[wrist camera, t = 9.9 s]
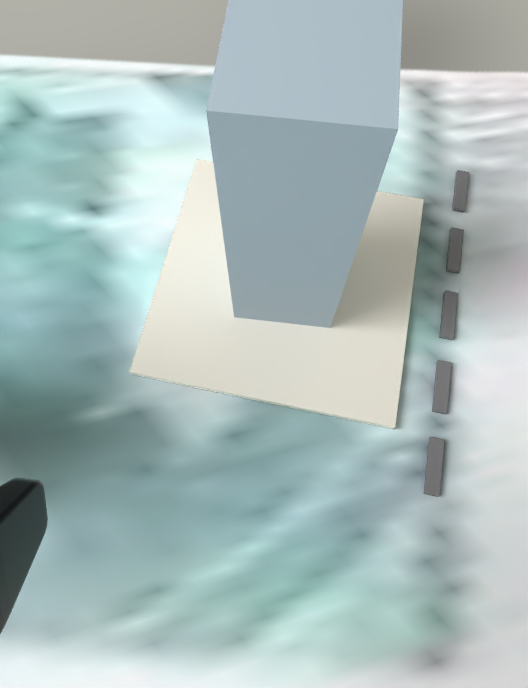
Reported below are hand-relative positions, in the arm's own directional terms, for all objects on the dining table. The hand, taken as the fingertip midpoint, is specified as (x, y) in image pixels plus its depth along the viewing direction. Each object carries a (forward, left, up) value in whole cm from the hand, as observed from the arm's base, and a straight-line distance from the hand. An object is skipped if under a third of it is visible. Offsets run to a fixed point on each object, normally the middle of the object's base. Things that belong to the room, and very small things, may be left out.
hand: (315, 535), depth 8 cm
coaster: (+8, -8, -14) cm, 18 cm away
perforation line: (+2, -12, -14) cm, 18 cm away
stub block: (+8, -8, -13) cm, 17 cm away
